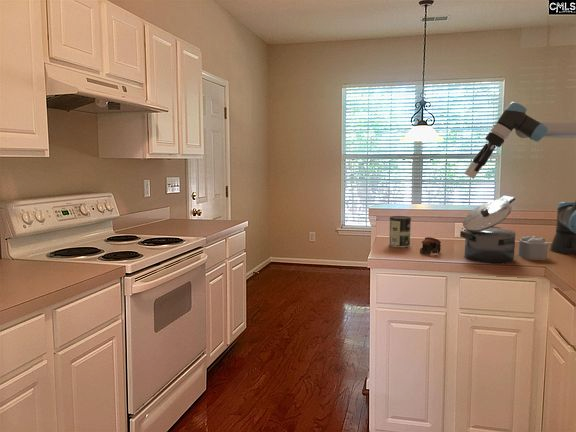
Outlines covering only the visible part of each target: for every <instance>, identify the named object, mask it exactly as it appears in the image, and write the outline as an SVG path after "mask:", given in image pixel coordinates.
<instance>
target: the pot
mask: <svg viewBox="0 0 576 432" xmlns="http://www.w3.org/2000/svg"><path fill="white" fill-rule="evenodd" d="M501 228H502V227H500V228H488V229H485V230H482V231H476V232H471V231H467V230H466V229H465V230H461V231H460V232H459V233H460V234H459V236H460V237H461V238H464V241H465V242H464V253H463V254H464V255H463V256H464V259H466V260H469V261H472V262H476V263H481V264H493V265H494V264H495V265H497V264H502V263H504V264H509V263H512V262H514V260H515V250H516V249H515V247H516V246H515V245H516V231H514V230H511V229H506V228H502V229H501ZM502 265H503V264H502Z"/></svg>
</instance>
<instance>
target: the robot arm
mask: <svg viewBox="0 0 576 432" xmlns="http://www.w3.org/2000/svg"><path fill="white" fill-rule="evenodd" d="M526 112H527V107H525V106H523V105H522V104H520V103H518V102H516V101H511V102H510V103H509V105H508V106H507V107H506V108H505V109H504V110H503V112H502V114H501V115H500V117H499V118H498V120H497V121H496V123H495V124H492V128H491V129H490V132H488V133H487V135H486V136H485V137H484V139H485V141H486V142H487V143H485V144H484V145H483V147H482V148H481V149H480V151H478V153H477V155H475V157H474V158H473V159H472V161H471V163H470V164H469V166H468V167H467V168H466V170H465V171H464V175H466V176H468V177H469V178H471V179H473V180H474V179H475V177H477V175H478V174H479V172H480V170H481V169H482V168H483V167H484V166H485V165H486V164H487V162H488V160H489V158H490V157H491V155H492V154H493V152H494V151H495V149H496V148H501V146H503V144H504V143H505V140H507V138H508V137H509V136H510V134H511V133H512V131H513V130H514V132H515V135H516V136H517V137H518V138H520V139H526V138H527V139H530V140H532V141H534V142H540V141H541V140H542V139H543V138H544V139H545V138H546V139H555V138H556V139H576V120H575V121H574V120H572V121H571V120H568V121H567V120H559V121H558V120H537V119H534V118H533V117H531V116H530V115H528V114H526ZM556 209H557V210H556V211H557V212H556V213H557V214H556V226H555V234H554V237H553V239H552V242H551V243H550V248H549V249H550V251H552V252H556V253H560V254H568V255H576V200H575V201H560V202H559V203H558V204H557V208H556Z"/></svg>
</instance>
